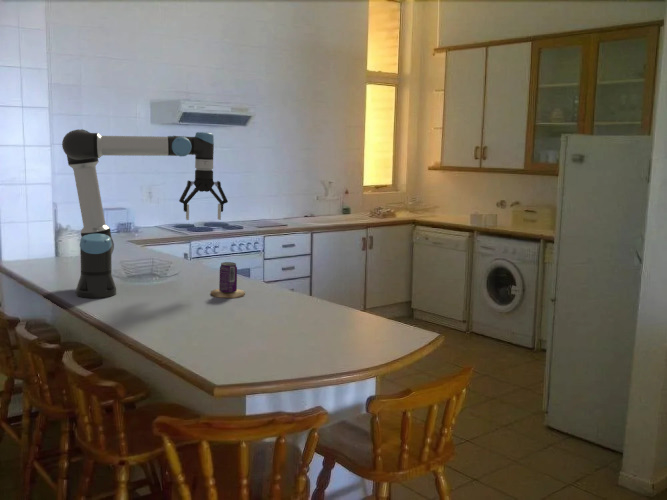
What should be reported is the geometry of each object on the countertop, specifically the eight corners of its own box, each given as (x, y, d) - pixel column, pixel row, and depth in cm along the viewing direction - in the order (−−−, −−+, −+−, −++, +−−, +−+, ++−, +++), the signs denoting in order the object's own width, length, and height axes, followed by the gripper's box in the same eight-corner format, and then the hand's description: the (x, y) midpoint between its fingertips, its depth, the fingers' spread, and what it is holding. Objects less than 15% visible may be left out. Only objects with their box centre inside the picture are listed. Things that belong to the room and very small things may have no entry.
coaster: (214, 298, 278) (214, 296, 278) (207, 290, 290) (207, 288, 290) (248, 297, 283) (248, 295, 283) (240, 289, 296) (240, 287, 296)
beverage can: (238, 290, 290) (239, 262, 288) (234, 294, 283) (234, 265, 281) (221, 289, 290) (222, 261, 288) (217, 293, 283) (217, 264, 281)
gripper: (175, 169, 284) (175, 220, 287) (235, 170, 293) (234, 220, 297) (172, 168, 291) (172, 218, 294) (231, 169, 300) (230, 218, 304)
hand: (203, 219), depth 296 cm, fingers open, 13 cm apart
